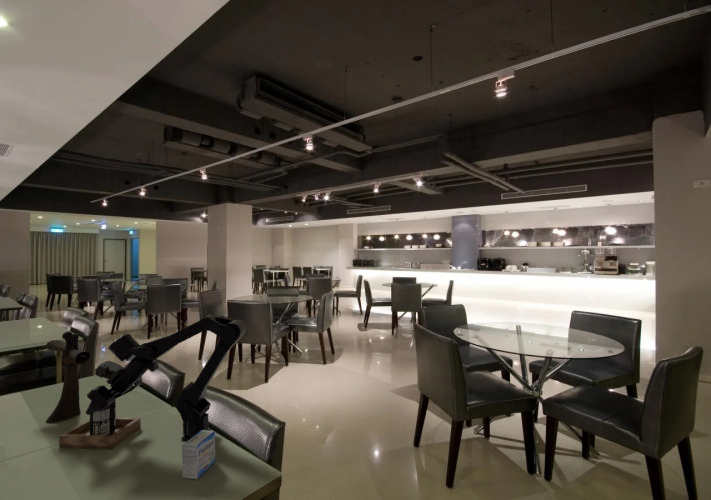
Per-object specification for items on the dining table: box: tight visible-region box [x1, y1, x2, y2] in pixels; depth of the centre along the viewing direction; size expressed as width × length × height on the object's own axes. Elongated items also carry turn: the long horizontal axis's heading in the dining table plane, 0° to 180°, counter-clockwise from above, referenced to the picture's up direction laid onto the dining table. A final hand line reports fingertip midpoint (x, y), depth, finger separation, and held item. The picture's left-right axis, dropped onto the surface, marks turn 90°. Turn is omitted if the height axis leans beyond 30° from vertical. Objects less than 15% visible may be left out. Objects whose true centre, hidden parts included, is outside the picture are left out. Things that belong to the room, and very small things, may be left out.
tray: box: [58, 416, 142, 451], centre depth 109 cm, size 16×12×4 cm
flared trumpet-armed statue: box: [45, 330, 91, 424], centre depth 124 cm, size 32×10×30 cm, turn 55°
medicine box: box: [181, 430, 216, 480], centre depth 93 cm, size 8×4×9 cm, turn 168°
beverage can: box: [89, 398, 117, 435], centre depth 109 cm, size 7×7×12 cm
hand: (97, 407), depth 109 cm, fingers open, 9 cm apart
